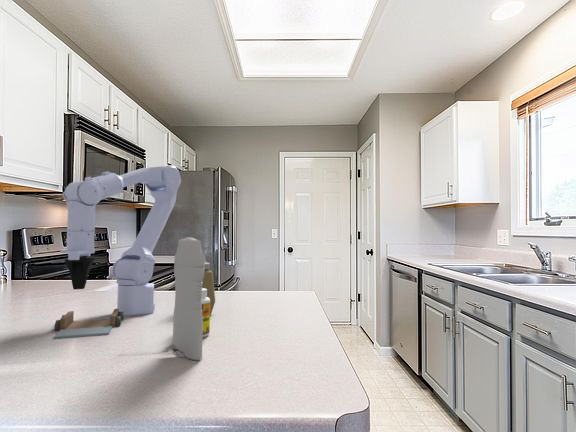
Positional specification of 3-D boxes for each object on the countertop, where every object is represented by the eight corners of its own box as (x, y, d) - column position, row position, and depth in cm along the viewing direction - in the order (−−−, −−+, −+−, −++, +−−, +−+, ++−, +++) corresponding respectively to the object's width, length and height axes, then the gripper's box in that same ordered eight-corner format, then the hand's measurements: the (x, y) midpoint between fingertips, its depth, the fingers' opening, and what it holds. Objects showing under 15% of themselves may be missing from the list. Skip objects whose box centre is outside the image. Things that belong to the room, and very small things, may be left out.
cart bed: (123, 323, 91) (123, 308, 91) (119, 331, 83) (120, 315, 83) (63, 327, 87) (64, 311, 87) (54, 336, 79) (54, 319, 79)
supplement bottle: (188, 340, 77) (189, 292, 77) (180, 334, 81) (181, 288, 82) (213, 336, 80) (214, 289, 80) (204, 331, 84) (205, 286, 85)
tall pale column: (211, 358, 66) (213, 237, 67) (190, 364, 63) (193, 237, 64) (183, 345, 73) (185, 236, 75) (164, 349, 71) (166, 236, 72)
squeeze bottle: (183, 313, 103) (184, 249, 104) (211, 310, 107) (212, 249, 108) (188, 319, 96) (189, 251, 97) (218, 316, 99) (219, 250, 100)
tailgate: (112, 326, 82) (108, 332, 77) (111, 331, 82) (108, 338, 76) (61, 329, 78) (54, 336, 73) (61, 335, 78) (53, 342, 73)
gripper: (69, 231, 92) (67, 285, 91) (53, 231, 78) (50, 294, 77) (100, 231, 94) (98, 284, 93) (90, 231, 80) (87, 293, 80)
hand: (79, 288), depth 85 cm, fingers closed
